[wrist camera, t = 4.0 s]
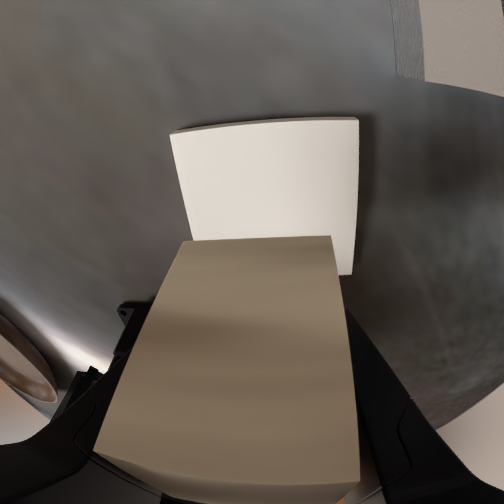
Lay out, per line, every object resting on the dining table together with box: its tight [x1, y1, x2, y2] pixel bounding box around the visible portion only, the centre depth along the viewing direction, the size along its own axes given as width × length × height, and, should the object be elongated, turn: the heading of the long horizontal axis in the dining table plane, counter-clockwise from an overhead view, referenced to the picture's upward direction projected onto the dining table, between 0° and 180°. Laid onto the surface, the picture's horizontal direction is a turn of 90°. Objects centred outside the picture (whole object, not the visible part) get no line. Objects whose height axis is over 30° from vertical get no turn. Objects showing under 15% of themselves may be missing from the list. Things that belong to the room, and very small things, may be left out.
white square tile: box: [170, 117, 359, 275], centre depth 14 cm, size 8×8×1 cm
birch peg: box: [93, 235, 360, 504], centre depth 7 cm, size 4×4×6 cm
